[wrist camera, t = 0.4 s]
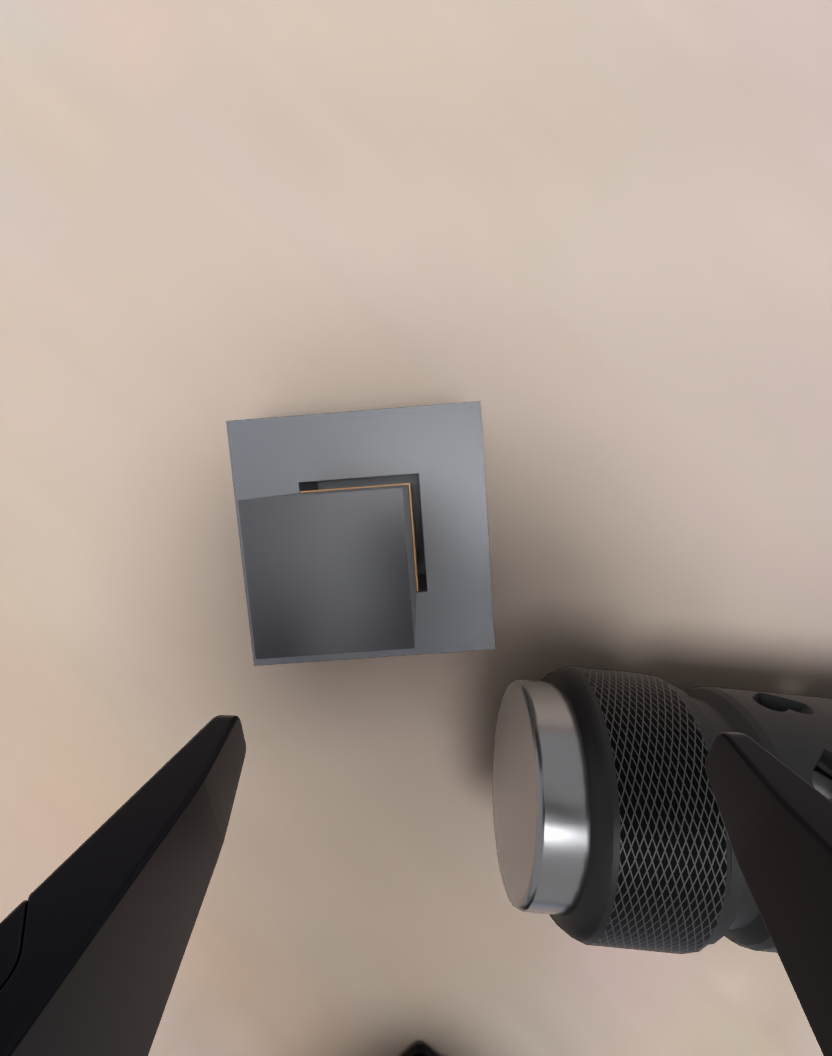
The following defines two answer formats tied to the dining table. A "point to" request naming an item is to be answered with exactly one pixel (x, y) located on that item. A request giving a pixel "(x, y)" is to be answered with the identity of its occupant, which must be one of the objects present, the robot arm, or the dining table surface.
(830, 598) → the dining table surface
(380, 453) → the socket block
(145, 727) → the dining table surface
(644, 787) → the black cylindrical piece
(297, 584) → the plug
